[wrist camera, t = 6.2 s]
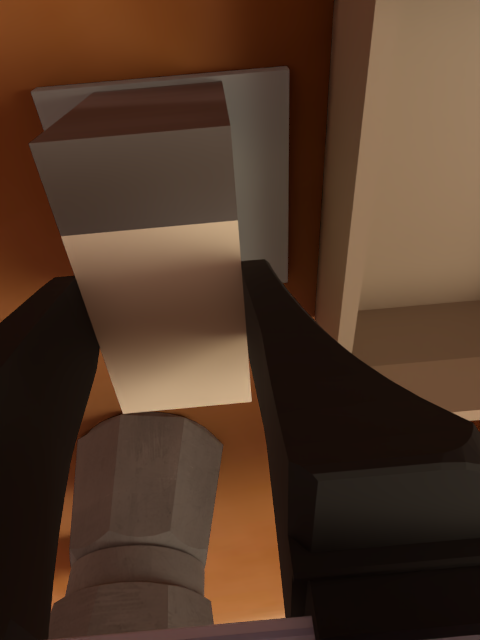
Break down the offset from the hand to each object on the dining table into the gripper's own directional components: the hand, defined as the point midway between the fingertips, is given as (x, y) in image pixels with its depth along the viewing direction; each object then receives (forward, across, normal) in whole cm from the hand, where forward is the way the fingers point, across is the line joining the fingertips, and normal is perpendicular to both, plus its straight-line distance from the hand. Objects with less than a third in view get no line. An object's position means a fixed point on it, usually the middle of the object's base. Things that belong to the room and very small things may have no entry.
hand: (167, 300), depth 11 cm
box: (+6, 0, 0) cm, 6 cm away
